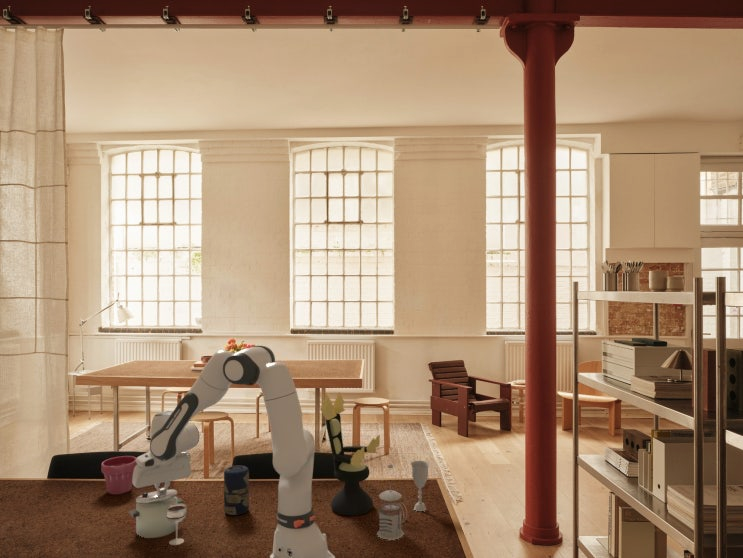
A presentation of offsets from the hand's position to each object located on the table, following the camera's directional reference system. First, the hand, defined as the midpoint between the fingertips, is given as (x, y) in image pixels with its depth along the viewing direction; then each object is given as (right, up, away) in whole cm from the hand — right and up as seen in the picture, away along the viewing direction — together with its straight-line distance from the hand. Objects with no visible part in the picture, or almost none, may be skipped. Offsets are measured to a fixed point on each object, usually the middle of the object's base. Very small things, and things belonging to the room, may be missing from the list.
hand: (161, 493), depth 205 cm
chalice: (+95, -13, +17) cm, 98 cm away
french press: (+84, -13, -5) cm, 85 cm away
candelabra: (+66, -13, +19) cm, 70 cm away
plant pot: (-32, -13, +38) cm, 51 cm away
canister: (+24, -13, +15) cm, 31 cm away
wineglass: (+9, -13, -9) cm, 18 cm away
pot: (-2, -13, 0) cm, 13 cm away
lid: (-2, -1, 0) cm, 2 cm away
